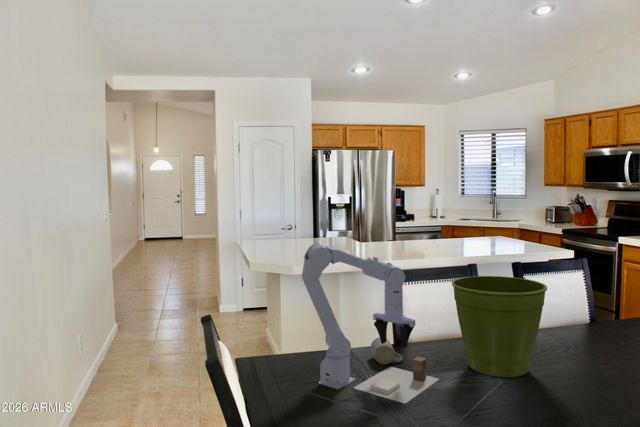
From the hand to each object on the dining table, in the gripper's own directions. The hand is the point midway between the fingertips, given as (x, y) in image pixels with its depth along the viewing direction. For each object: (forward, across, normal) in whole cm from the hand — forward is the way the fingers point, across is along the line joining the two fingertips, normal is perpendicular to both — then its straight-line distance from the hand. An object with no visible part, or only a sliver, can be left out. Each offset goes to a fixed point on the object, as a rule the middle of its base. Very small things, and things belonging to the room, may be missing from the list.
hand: (393, 345), depth 160 cm
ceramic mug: (+11, +9, -11) cm, 18 cm away
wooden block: (+10, -8, -2) cm, 13 cm away
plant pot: (+11, -24, -27) cm, 38 cm away
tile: (+9, -3, +7) cm, 12 cm away
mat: (+10, -4, +5) cm, 12 cm away
